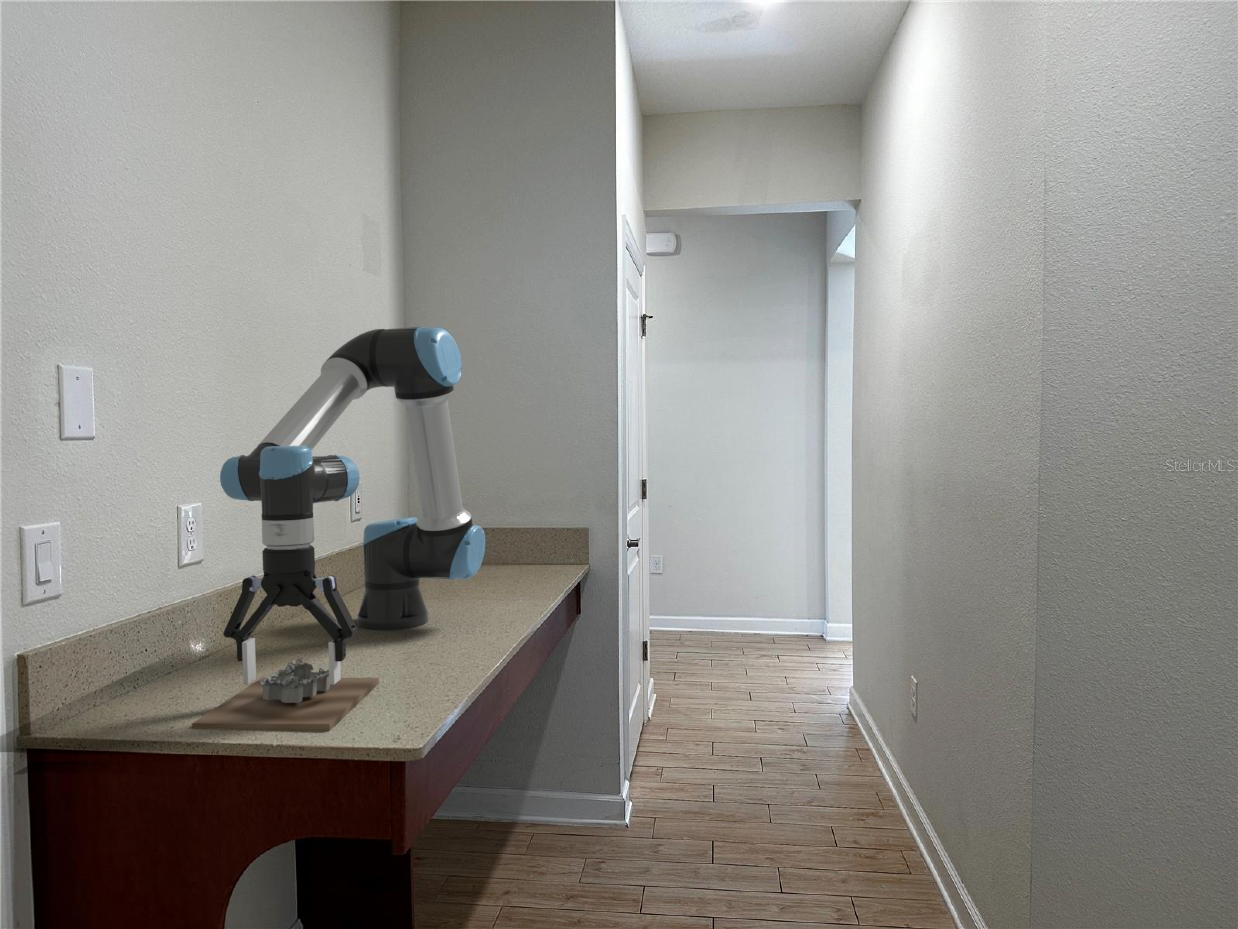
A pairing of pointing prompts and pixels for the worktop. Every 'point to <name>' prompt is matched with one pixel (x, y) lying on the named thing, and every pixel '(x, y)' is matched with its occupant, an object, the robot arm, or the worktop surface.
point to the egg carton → (295, 682)
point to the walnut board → (288, 708)
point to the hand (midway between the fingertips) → (292, 682)
